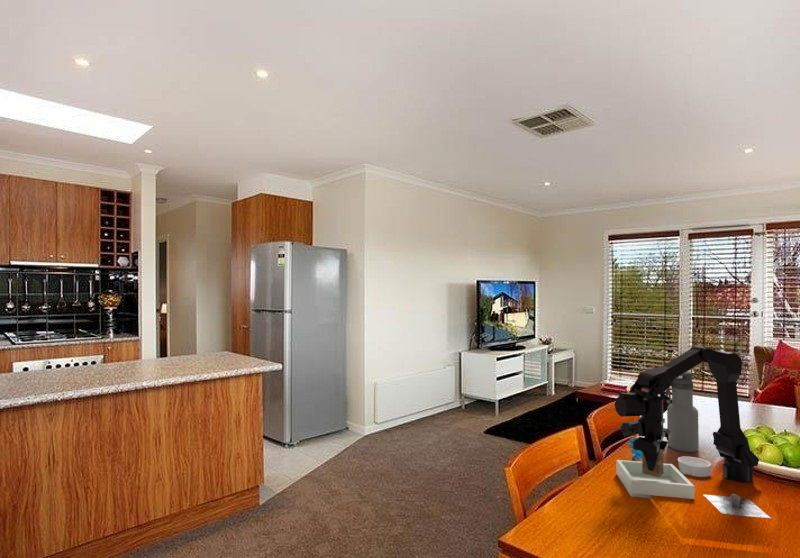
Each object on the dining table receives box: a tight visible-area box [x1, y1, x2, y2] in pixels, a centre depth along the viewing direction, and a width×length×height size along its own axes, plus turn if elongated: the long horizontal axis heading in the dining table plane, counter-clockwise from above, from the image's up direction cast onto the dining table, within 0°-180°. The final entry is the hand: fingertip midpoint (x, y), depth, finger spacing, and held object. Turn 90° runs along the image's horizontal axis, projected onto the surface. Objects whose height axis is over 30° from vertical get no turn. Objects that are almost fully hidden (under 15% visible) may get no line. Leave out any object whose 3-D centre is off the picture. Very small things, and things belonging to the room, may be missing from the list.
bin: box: [616, 459, 695, 500], centre depth 133 cm, size 16×16×4 cm
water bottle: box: [665, 371, 700, 453], centre depth 166 cm, size 10×10×28 cm
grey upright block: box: [641, 449, 664, 478], centre depth 133 cm, size 4×4×7 cm
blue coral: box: [628, 436, 642, 461], centre depth 153 cm, size 11×6×10 cm
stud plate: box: [703, 493, 771, 519], centre depth 119 cm, size 11×11×4 cm
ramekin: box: [677, 455, 712, 478], centre depth 142 cm, size 9×9×4 cm
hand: (652, 468), depth 133 cm, fingers closed on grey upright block, 4 cm apart
